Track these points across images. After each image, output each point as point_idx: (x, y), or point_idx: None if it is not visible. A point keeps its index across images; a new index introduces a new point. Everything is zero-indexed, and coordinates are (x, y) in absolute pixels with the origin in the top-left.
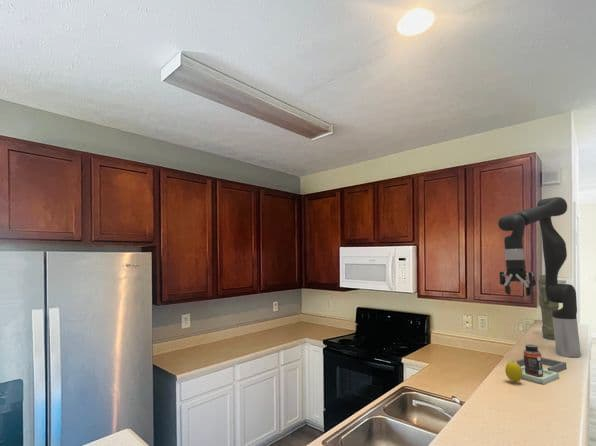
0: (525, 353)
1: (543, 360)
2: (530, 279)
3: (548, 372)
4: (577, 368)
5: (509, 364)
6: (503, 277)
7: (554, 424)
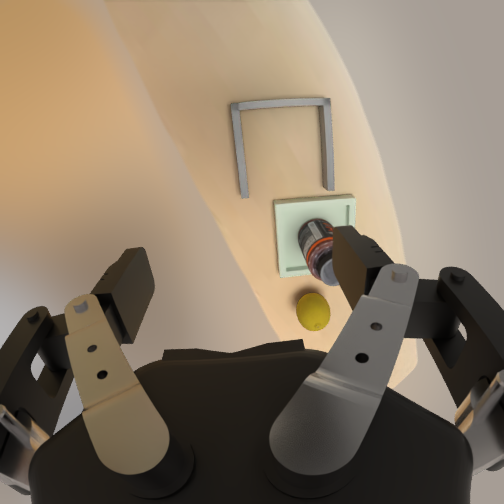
0: (321, 280)
1: (269, 107)
2: (462, 385)
3: (335, 204)
4: (337, 73)
5: (313, 330)
6: (37, 411)
7: (398, 359)
